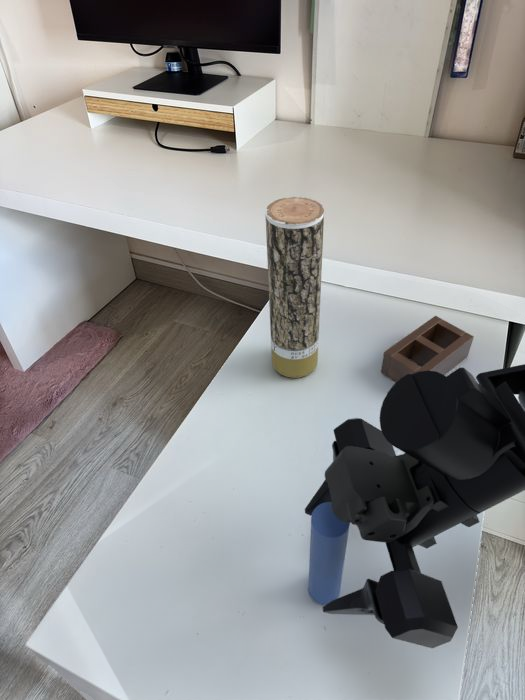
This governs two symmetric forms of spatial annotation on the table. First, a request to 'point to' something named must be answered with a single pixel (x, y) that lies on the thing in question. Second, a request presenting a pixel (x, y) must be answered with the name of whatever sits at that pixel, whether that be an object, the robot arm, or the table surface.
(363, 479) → the robot arm
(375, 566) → the table surface
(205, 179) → the table surface
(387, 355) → the rack
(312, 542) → the peg
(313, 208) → the paper tube
